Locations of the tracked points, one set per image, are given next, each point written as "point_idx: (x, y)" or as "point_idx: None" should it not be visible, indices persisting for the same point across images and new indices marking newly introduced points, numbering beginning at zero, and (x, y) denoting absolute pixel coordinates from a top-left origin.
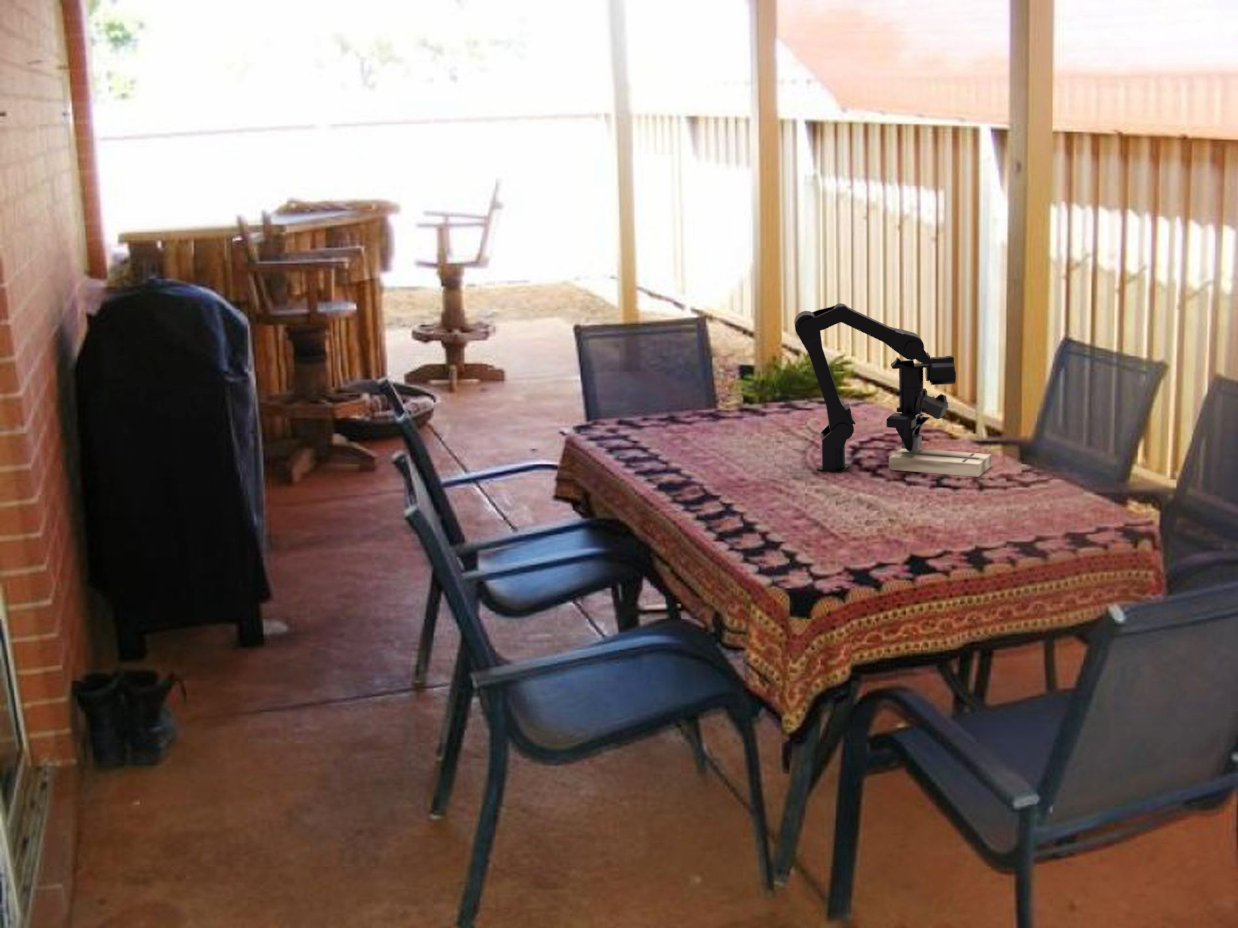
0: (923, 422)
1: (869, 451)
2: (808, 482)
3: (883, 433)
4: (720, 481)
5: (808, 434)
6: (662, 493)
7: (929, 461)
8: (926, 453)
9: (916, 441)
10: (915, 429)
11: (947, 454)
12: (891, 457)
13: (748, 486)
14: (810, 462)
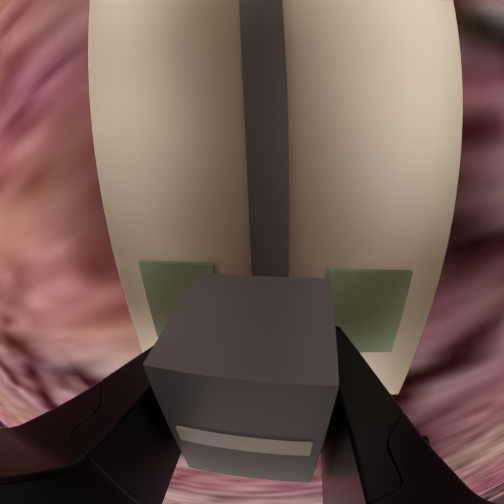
0: (13, 487)
1: None
2: (498, 441)
3: (15, 386)
4: None
5: None
6: (493, 497)
7: (460, 105)
8: (223, 201)
9: (333, 353)
10: (128, 460)
11: (191, 15)
12: (399, 383)
13: (493, 475)
14: (312, 491)
